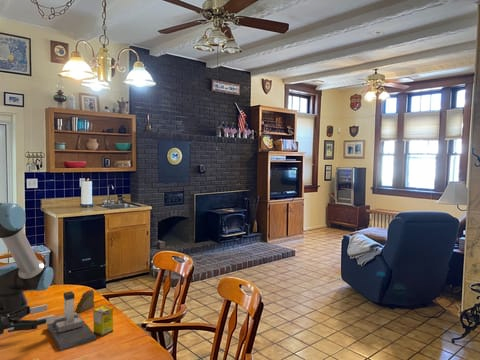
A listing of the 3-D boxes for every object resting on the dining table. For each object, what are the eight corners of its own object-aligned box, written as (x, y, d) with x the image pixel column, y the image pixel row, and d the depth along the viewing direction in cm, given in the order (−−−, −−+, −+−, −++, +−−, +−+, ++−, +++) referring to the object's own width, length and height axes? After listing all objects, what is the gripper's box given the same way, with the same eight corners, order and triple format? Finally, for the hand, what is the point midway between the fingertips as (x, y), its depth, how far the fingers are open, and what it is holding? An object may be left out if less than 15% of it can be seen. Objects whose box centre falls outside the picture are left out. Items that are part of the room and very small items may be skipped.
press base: (47, 328, 164) (46, 317, 164) (79, 320, 173) (79, 309, 173) (60, 350, 146) (60, 338, 146) (95, 339, 155) (95, 328, 155)
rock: (76, 311, 178) (97, 304, 183) (72, 294, 181) (93, 288, 187) (75, 317, 186) (95, 310, 191) (71, 301, 189) (91, 295, 195)
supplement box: (113, 331, 163) (113, 307, 162) (102, 336, 157) (102, 312, 157) (104, 328, 166) (104, 304, 165) (93, 333, 160) (93, 309, 160)
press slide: (55, 328, 160) (55, 294, 159) (79, 322, 166) (79, 289, 165) (58, 332, 156) (58, 297, 155) (82, 326, 162) (82, 292, 161)
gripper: (-13, 324, 152) (44, 311, 165) (-5, 349, 133) (58, 331, 146) (-13, 307, 151) (43, 295, 165) (-6, 329, 132) (57, 313, 146)
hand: (50, 312), depth 156 cm, fingers open, 13 cm apart
